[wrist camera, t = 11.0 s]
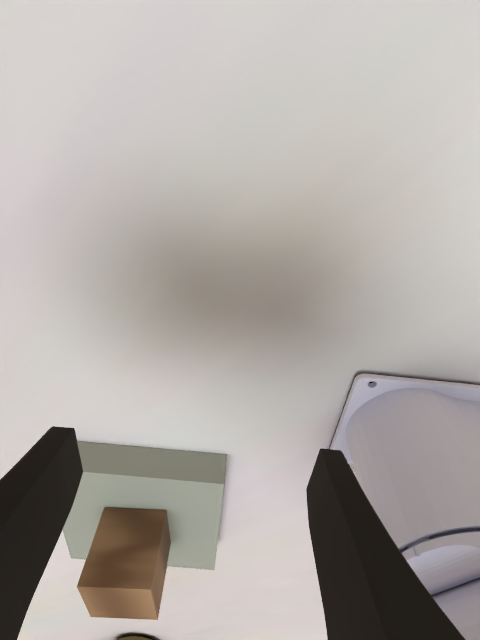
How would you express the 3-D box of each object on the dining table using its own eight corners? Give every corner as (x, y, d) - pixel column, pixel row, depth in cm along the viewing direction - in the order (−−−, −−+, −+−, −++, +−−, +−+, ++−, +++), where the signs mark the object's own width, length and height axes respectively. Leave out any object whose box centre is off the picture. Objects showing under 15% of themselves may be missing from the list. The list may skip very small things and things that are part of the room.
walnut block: (166, 509, 27) (150, 589, 23) (170, 542, 29) (157, 619, 25) (104, 507, 27) (76, 586, 23) (113, 540, 29) (90, 616, 25)
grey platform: (227, 447, 28) (224, 484, 25) (217, 533, 34) (214, 570, 32) (63, 432, 27) (44, 468, 25) (85, 522, 34) (71, 558, 31)
